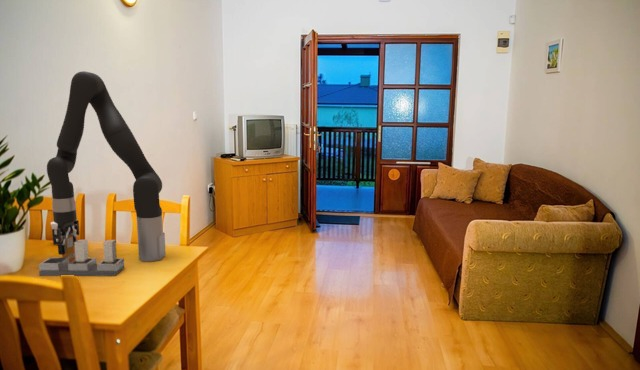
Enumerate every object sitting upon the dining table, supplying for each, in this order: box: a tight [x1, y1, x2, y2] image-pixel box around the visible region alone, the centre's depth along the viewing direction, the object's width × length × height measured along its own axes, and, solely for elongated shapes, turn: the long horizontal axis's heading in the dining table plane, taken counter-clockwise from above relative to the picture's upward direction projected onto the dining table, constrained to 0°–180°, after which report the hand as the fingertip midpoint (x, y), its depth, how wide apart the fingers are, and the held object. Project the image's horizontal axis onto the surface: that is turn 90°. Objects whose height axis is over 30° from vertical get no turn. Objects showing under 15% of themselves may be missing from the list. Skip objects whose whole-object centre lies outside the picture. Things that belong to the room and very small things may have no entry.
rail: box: [38, 239, 125, 277], centre depth 154 cm, size 27×8×12 cm, turn 92°
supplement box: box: [61, 235, 75, 263], centre depth 165 cm, size 3×3×10 cm
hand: (67, 250), depth 165 cm, fingers open, 7 cm apart
